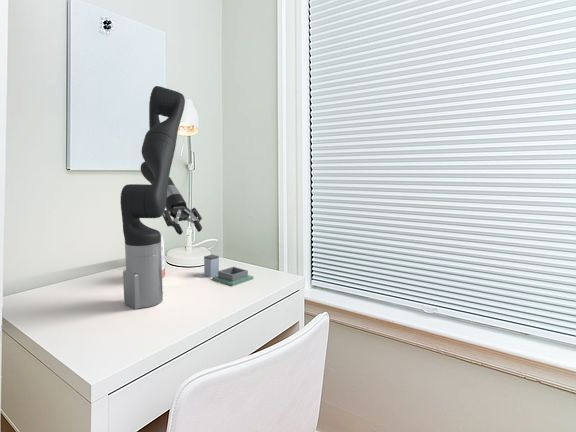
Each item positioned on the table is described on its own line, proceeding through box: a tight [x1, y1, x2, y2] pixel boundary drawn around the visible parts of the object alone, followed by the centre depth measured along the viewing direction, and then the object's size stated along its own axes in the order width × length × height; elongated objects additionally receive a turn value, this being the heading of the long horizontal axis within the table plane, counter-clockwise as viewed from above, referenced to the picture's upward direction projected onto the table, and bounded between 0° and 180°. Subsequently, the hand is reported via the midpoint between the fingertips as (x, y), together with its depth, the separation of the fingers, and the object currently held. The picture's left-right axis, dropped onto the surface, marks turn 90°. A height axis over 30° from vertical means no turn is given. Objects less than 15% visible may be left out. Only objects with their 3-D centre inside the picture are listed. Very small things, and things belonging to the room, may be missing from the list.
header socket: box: [211, 266, 254, 287], centre depth 115 cm, size 10×10×3 cm
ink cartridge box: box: [161, 235, 166, 279], centre depth 112 cm, size 9×5×15 cm, turn 179°
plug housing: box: [203, 254, 220, 278], centre depth 119 cm, size 4×4×7 cm
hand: (191, 231), depth 124 cm, fingers open, 8 cm apart
